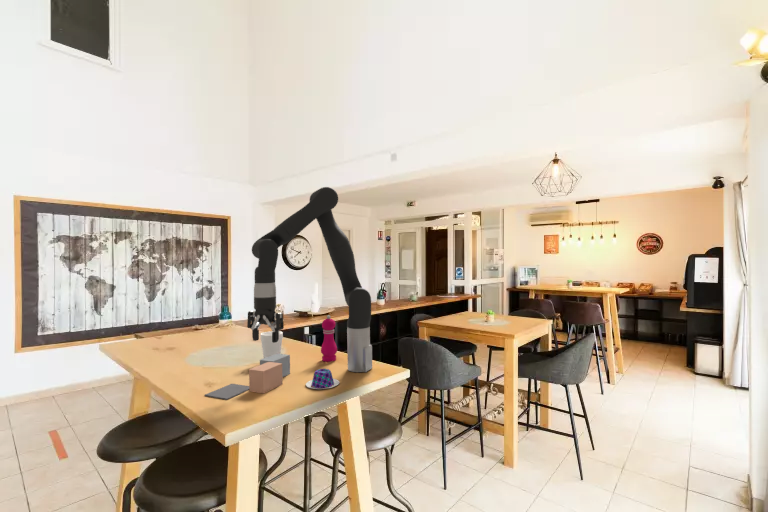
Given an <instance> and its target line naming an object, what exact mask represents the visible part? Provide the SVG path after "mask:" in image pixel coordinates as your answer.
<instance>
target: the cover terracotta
mask: <svg viewBox="0 0 768 512" xmlns="http://www.w3.org/2000/svg"><path fill="white" fill-rule="evenodd" d="M248 377H249V378H248V380H249V381H248V382H249V383H248V386H249V390H248V391H249V392H254V393H257V394H258V393H259V394H265V393H267V392H269V391H271V390H273V389H275V388H276V389H277V388H278V387H280V386H282V385H283V377H282V363H274V362H267V363H264V364H262V365H260V364H259V365H257V366H254V367H252V368H249V369H248Z"/></svg>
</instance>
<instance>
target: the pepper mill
mask: <svg viewBox="0 0 768 512" xmlns="http://www.w3.org/2000/svg"><path fill="white" fill-rule="evenodd" d="M321 327H322V331H323V332H322V333H323V342H322V344H321V348H320V354H322V356H321V361H323V362H326V363H329V362H335V361H336V360H337V352H338V347H337V343H336V342H335V339H334V338H335V337H334V334H335V327H336V321H335V319H332V318H331V315H330V314H328V315H327V316H326V318H325V319H323V321H321Z"/></svg>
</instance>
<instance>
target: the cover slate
mask: <svg viewBox="0 0 768 512" xmlns="http://www.w3.org/2000/svg"><path fill="white" fill-rule="evenodd" d="M267 362H274V363H282V378H284V377H286V376H288V375H290V374H291V354H286V353H285V354H284V353H281V354H274V355H272V356H269V357H266V358H264V357H263V358H261V359H259V365H262V364H264V363H267Z"/></svg>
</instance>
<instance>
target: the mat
mask: <svg viewBox="0 0 768 512" xmlns="http://www.w3.org/2000/svg"><path fill="white" fill-rule="evenodd" d="M248 391H249V385H243V384H239V383H238V384H236V383H229V384H227V385H225V386H222V387H220V388H217V389H215V390H213V391H212V390H211V391H210V392H208V393H205V394H204V397H209V398H214V399H221V400H225V401H229V400H230V399H232V398H235V397H237V396H239V395H241V394H243V393H245V392H248Z"/></svg>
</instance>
